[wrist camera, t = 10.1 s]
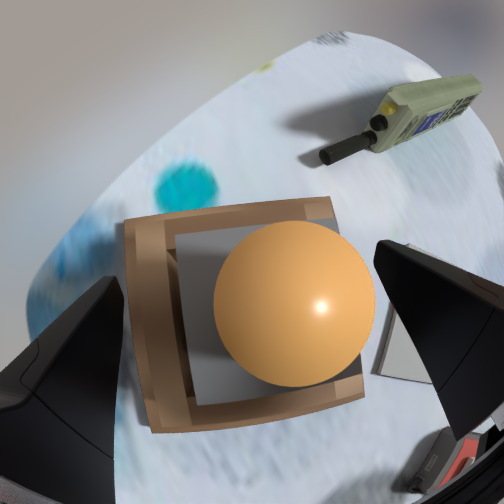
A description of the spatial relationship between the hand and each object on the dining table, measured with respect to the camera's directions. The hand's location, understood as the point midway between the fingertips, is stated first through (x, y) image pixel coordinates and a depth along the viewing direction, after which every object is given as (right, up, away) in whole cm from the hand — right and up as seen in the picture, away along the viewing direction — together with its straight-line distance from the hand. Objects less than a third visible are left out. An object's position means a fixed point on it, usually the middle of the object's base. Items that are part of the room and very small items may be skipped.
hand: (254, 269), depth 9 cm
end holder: (-1, -3, +8) cm, 9 cm away
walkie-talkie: (+23, -23, +7) cm, 33 cm away
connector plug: (-1, -3, +8) cm, 8 cm away
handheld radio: (+16, +13, +15) cm, 25 cm away
